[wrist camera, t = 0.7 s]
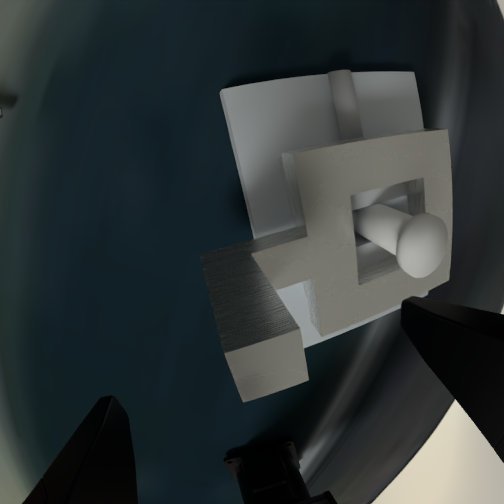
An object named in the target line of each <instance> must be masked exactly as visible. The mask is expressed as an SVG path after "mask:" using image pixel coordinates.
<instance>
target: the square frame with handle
mask: <svg viewBox="0 0 504 504" xmlns="http://www.w3.org/2000/svg"><path fill="white" fill-rule="evenodd" d="M281 157H282V162H283V167H284V172H285V177H286V182H287V187H288V192H289V197H290V202H291V207H292V213H293V218H294V223H295V227H293V228H290V229H287V230H283V231H280V232H276V233H273V234H269V235H266V236H263V237H259V238H256V239H252V240H249V241H246V242H242V243H239V244H236V245H232V246H229V247H225V248H222V249H219V250H215V251H212V252H209V253H205V254H202V255H200V256H201V260H202V265H203V269H204V274H205V278H206V282H207V286H208V291H209V295H210V299H211V303H212V307H213V311H214V315H215V319H216V323H217V327H218V331H219V335H220V339H221V343H222V347H223V351H224V354H225V357H226V359H227V362H228V365H229V367H230V370H231V373H232V375H233V378H234V380H235V383H236V386H237V388H238V391H239V393H240V396H241V398H242V401H243V403H244V402H247V401H250V400H253V399H257V398H260V397H263V396H266V395H269V394H272V393H275V392H278V391H281V390H283V389H286V388H289V387H292V386H295V385H297V384H300V383H303V382H305V381H308V380H309V378H308V372H307V366H306V359H305V353H304V347H303V341H302V335H301V330H300V327H299V326H298V324H297V323H296V321H295V320H294V318H293V317H292V315H291V314H290V312H289V311H288V309H287V308H286V306H285V305H284V303H283V302H282V300H281V298H280V297H279V295H278V294H277V292H276V290H279V289H282V288H285V287H288V286H291V285H294V284H297V283H300V282H303V281H304V282H305V288H306V294H307V300H308V307H309V314H310V320H311V323H312V324H313V326H314V327H315V329H316V330H317V331H318V333H319V334H320V335H321V337H324V336H326V335H329V334H332V333H334V332H337V331H339V330H342V329H344V328H347V327H349V326H351V325H354V324H356V323H359V322H361V321H363V320H366V319H368V318H370V317H373V316H375V315H377V314H380V313H382V312H384V311H386V310H389V309H391V308H393V307H395V306H397V305H399V304H401V303H402V301H403V300H404V299H406V298H408V297H410V296H418V295H421V294H423V293H425V292H427V291H429V290H431V289H433V288H435V287H437V286H439V285H441V284H443V283H444V282H446V281H448V280H449V275H450V263H451V246H452V176H451V159H450V147H449V137H448V129H438V128H423V129H415V130H406V131H399V132H391V133H384V134H377V135H371V136H364V137H358V138H352V139H346V140H341V141H335V142H329V143H324V144H319V145H314V146H309V147H304V148H299V149H294V150H290V151H285V152H281ZM402 182H406V187H407V201H408V215H411V216H415V215H416V214H419V213H424V212H426V213H430V214H432V215H435V216H438V217H439V218H441V219H442V220H443V221H444V223H445V225H446V227H447V231H448V244H447V249H446V252H445V255H444V257H443V259H442V261H441V263H440V264H439V266H438V267H437V268H436V269H435V270H434V271H433V272H432V273H431V274H429V275H427V276H425V277H422V278H415V277H412V276H410V275H409V274H407V273H406V272H404V271H403V270H402V269H401V268H400V267H399V265H398V262H397V258H396V255H393V256H390V257H388V258H385V259H382V260H380V261H377V262H374V263H372V264H369V265H366V266H363V267H361V268H358V269H357V256H356V245H355V234H354V225H353V216H352V207H351V199H350V196H351V195H355V194H359V193H362V192H366V191H370V190H374V189H378V188H382V187H386V186H390V185H394V184H398V183H402Z"/></svg>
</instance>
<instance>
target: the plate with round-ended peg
mask: <svg viewBox="0 0 504 504" xmlns="http://www.w3.org/2000/svg"><path fill="white" fill-rule="evenodd" d="M219 93H220V97H221V101H222V105H223V109H224V114H225V118H226V122H227V126H228V130H229V134H230V139H231V143H232V147H233V151H234V155H235V160H236V164H237V168H238V172H239V177H240V181H241V185H242V189H243V193H244V198H245V202H246V206H247V210H248V215H249V219H250V223H251V228H252V232H253V236H254V239H256V238H259V237H263V236H266V235H269V234H273V233H276V232H280V231H283V230H287V229H290V228H293V227H295V223H294V218H293V213H292V207H291V202H290V197H289V192H288V187H287V182H286V177H285V172H284V167H283V162H282V157H281V152H285V151H290V150H294V149H299V148H304V147H309V146H314V145H319V144H324V143H329V142H335V141H341V140H346V139H352V138H358V137H364V136H371V135H377V134H384V133H391V132H399V131H406V130H415V129H423V128H424V126H423V119H422V113H421V107H420V101H419V95H418V90H417V84H416V79H415V75H414V72H350V70H338V71H332V72H329V73H328V74H322V75H311V76H302V77H293V78H285V79H278V80H271V81H265V82H258V83H253V84H247V85H241V86H236V87H231V88H226V89H222V90H221V91H220V92H219ZM350 199H351V207H352V216H353V225H354V234H355V245H356V256H357V269H358V268H361V267H363V266H366V265H369V264H372V263H374V262H377V261H380V260H382V259H385V258H388V257H390V256H393V255H396V258H397V262H398V265H399V267H400V268H401V269H402V270H403V271H404V272H406V273H407V274H409V275H410V276H412V277H415V278H422V277H425V276H427V275H429V274H431V273H432V272H433V271H434V270H435V269H436V268H437V267H438V266H439V264H440V263H441V261H442V259H443V257H444V255H445V252H446V249H447V244H448V231H447V227H446V225H445V223H444V221H443V220H442V219H441V218H439V217H438V216H435V215H432V214H430V213H426V212H424V213H419V214H416V215H415V216H411V215H408V201H407V187H406V182H402V183H398V184H394V185H390V186H386V187H382V188H378V189H374V190H370V191H366V192H362V193H359V194H355V195H351V196H350ZM276 292H277V294H278V295H279V297H280V298H281V300H282V302H283V303H284V305H285V306H286V308H287V309H288V311H289V312H290V314H291V315H292V317H293V318H294V320H295V321H296V323H297V324H298V326H299V327H300V330H301V335H302V341H303V347H304V348H306V347H308V346H311V345H314V344H316V343H319V342H322V341H324V340H327V339H329V338H332V337H334V336H337V335H339V334H342V333H344V332H347V331H349V330H351V329H354V328H356V327H359V326H361V325H363V324H366V323H368V322H370V321H373V320H375V319H377V318H379V317H382V316H384V315H386V314H388V313H390V312H393V311H395V310H397V309H399V308H401V304H399V305H397V306H395V307H393V308H391V309H389V310H386V311H384V312H382V313H380V314H377V315H375V316H373V317H370V318H368V319H366V320H363V321H361V322H359V323H356V324H354V325H351V326H349V327H347V328H344V329H342V330H339V331H337V332H334V333H332V334H329V335H326V336H324V337H321V335H320V334H319V333H318V331H317V330H316V329H315V327H314V326H313V324H312V323H311V320H310V314H309V307H308V300H307V294H306V288H305V282H304V281H303V282H300V283H297V284H294V285H291V286H288V287H285V288H282V289H279V290H276ZM426 295H428V291H427V292H425V293H423V294H421V295H418V296H417V297H424V296H426Z"/></svg>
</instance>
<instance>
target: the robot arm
mask: <svg viewBox="0 0 504 504" xmlns="http://www.w3.org/2000/svg"><path fill="white" fill-rule="evenodd" d="M400 323H401V326H402V328H403V330H404V331H405V333H406V334H407V336H408V337H409V339H410V340H411V342H412V343H413V345H414V346H415V348H416V349H417V351H418V352H419V354H420V355H421V357H422V358H423V359H424V361H425V362H426V363H427V365H428V366H429V367H430V368H431V370H432V371H433V372H434V373H435V374H436V376H437V377H438V378H439V379H440V381H441V382H442V383H443V384H444V385H445V387H446V388H447V389H448V390H449V392H450V393H451V394H452V395H453V397H454V398H455V399H456V400H457V402H458V403H459V404H460V405H461V407H462V408H463V409H464V410H465V412H466V413H467V414H468V416H469V417H470V418H471V420H472V421H473V422H474V423H475V425H476V426H477V427H478V429H479V430H480V431H481V433H482V434H483V435H484V437H485V438H486V439H487V441H488V442H489V443H490V445H491V446H492V447H493V448H494V450H495V452H496V453H497V455H498V456H499V457H500V459H501V460H502V462H503V463H504V314H499V313H494V312H489V311H484V310H479V309H474V308H470V307H465V306H460V305H455V304H450V303H446V302H441V301H436V300H431V299H427V298H422V297H417V296H410V297H408V298H406V299H404V300H403V301H402V303H401V317H400ZM223 460H224V464H225V465H226V467H227V468H228V470H229V471H230V473H231V474H232V476H233V477H234V478H235V480H236V481H237V483H238V484H239V487H240V491H241V494H242V498H243V501H244V504H337V502H336V501H335V499H334V498H333V496H332V494H331V493H330V491H329V490H328V491H326V492H323V494H320V495H317V496H314V497H310V494H309V492H308V490H307V488H306V485H305V483H304V481H303V478H302V476H301V474H300V471H299V469H300V464H299V460H298V456H297V452H296V449H295V445H294V442H293V439H291V438H288V439H285V440H282V441H279V442H276V443H273V444H270V445H266V446H263V447H260V448H257V449H253V450H250V451H246V452H243V453H239V454H236V455H232V456H228V457H225V458H224V459H223ZM42 477H43V478H41V479H40V480H39V482H38V483H37V485H36V486H35V487H34V489H33V490H32V491H31V493H30V494H29V496H28V497H27V498H26V499H25V501H24V502H23V503H22V504H138V496H137V483H136V467H135V458H134V451H133V445H132V438H131V431H130V424H129V418H128V415H127V413H126V411H125V410H124V409H123V407H122V406H121V405H120V403H119V402H118V400H117V399H116V398H115V397H114V396H112V395H110V396H105V397H101V398H100V399H99V400H98V401H97V403H96V404H95V405H94V407H93V408H92V409H91V411H90V412H89V413H88V415H87V416H86V417H85V419H84V420H83V421H82V423H81V424H80V425H79V427H78V428H77V429H76V431H75V432H74V434H73V435H72V436H71V438H70V439H69V440H68V442H67V443H66V444H65V446H64V447H63V449H62V450H61V451H60V453H59V454H58V455H57V457H56V458H55V460H54V461H53V462H52V464H51V465H50V466H49V468H48V469H47V471H46V472H45V473H44V475H43V476H42Z"/></svg>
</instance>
